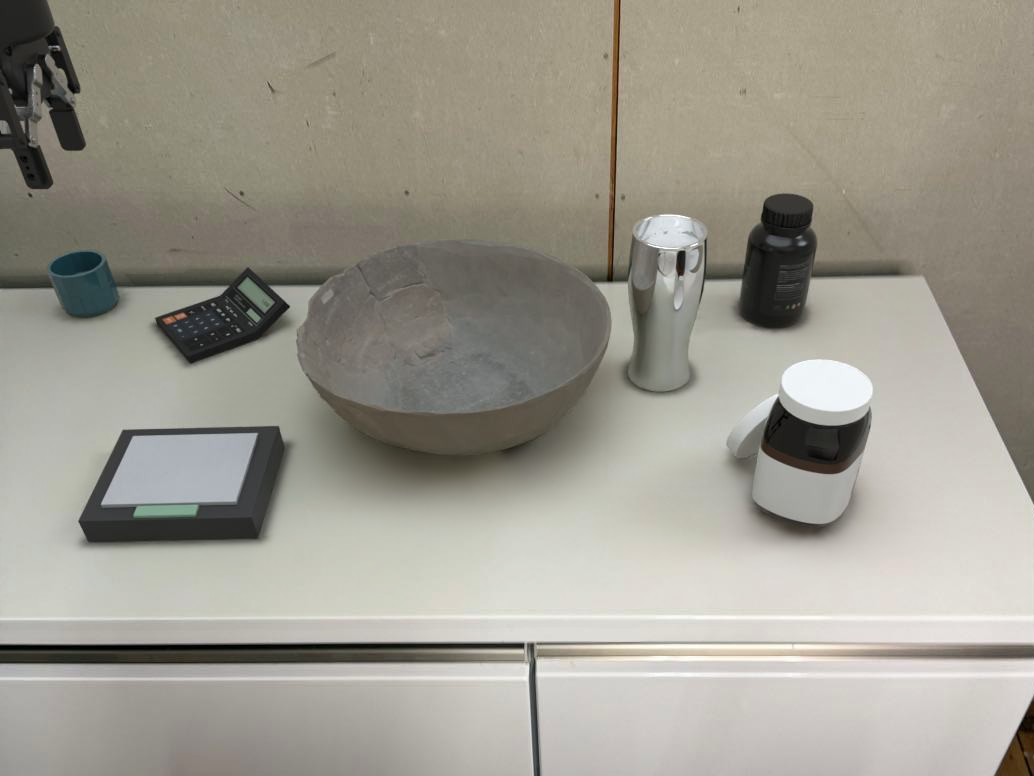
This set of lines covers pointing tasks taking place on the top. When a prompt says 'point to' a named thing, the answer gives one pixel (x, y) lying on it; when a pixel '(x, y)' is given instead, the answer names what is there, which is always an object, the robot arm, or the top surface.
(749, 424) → the spread jar
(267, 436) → the kitchen scale
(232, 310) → the calculator
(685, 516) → the top surface
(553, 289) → the bowl
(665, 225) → the beer glass
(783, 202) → the supplement bottle
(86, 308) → the teal cup
